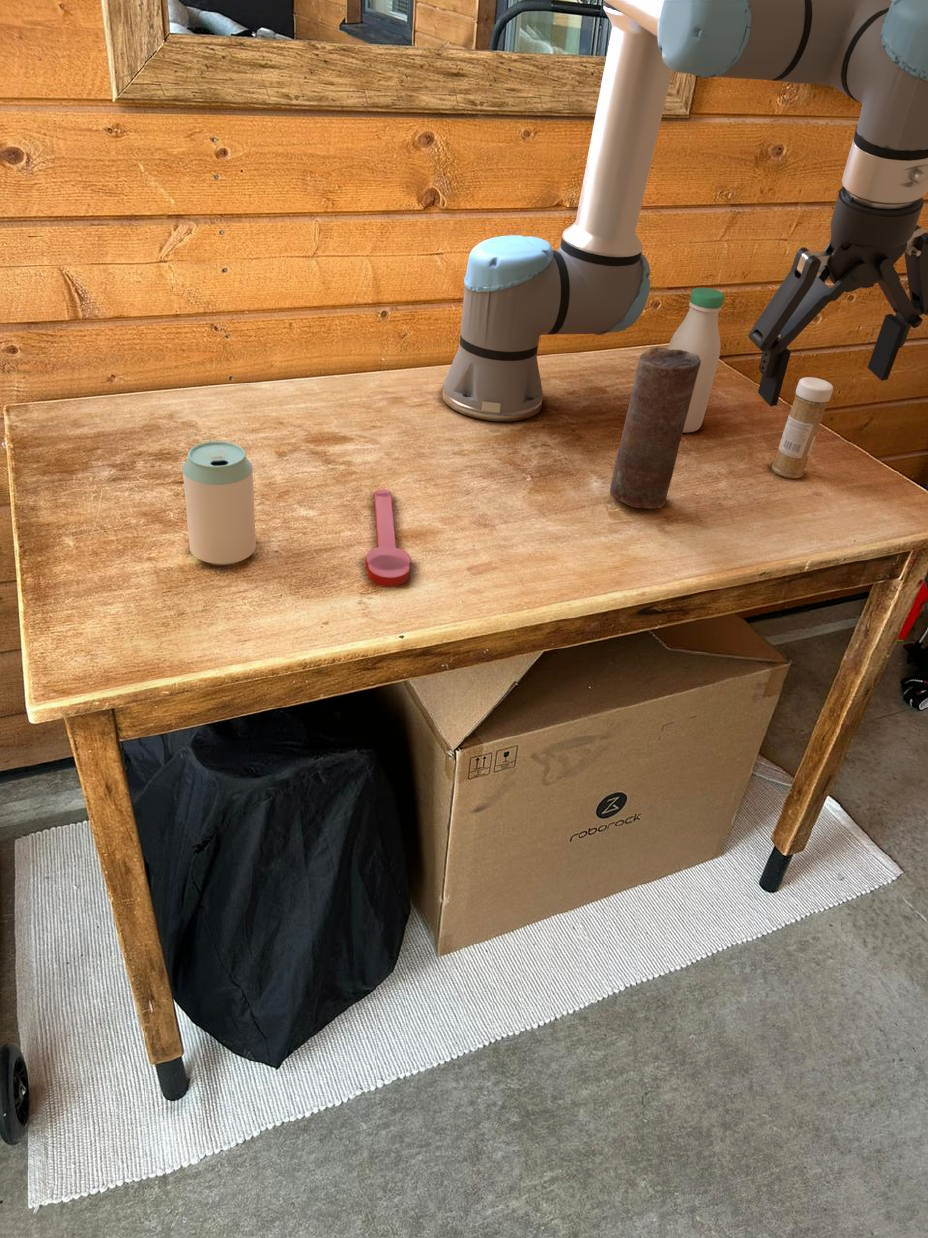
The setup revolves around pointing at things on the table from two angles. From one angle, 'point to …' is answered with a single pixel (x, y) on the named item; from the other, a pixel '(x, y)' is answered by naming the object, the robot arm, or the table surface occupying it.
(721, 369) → the table surface
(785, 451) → the spice jar
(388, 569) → the spoon
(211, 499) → the can
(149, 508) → the table surface
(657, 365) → the candle
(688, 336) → the milk bottle
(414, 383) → the table surface
